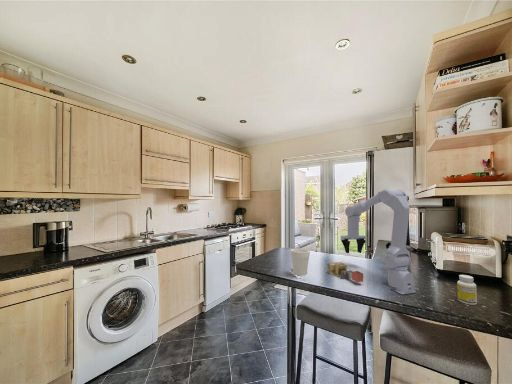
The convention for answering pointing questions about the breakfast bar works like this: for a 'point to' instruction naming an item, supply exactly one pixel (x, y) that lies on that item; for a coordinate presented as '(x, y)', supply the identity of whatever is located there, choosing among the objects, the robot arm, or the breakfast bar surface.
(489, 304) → the breakfast bar surface
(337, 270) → the tan lumpy piece
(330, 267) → the bearing stand
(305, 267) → the foam cup
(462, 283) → the supplement bottle
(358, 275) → the orange grey block
